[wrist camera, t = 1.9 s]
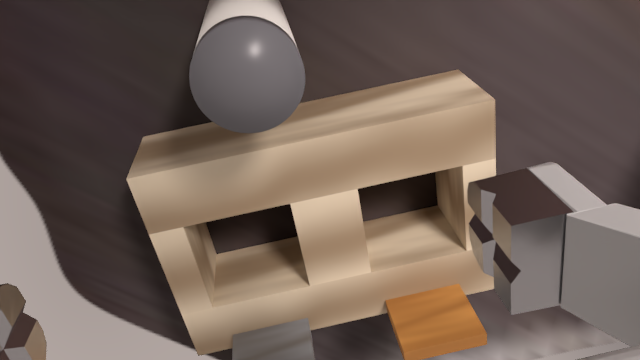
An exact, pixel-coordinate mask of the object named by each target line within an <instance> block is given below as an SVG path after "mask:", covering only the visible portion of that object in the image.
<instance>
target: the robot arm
mask: <svg viewBox="0 0 640 360" xmlns="http://www.w3.org/2000/svg"><path fill="white" fill-rule="evenodd" d="M467 200H468V204H469V206H470V207H471V208H472V210H473V211H474V212H475V214H474V216H473V217H472V219H471V221H470V222H469V236H470V242H471V246H472V250H473V254H474V256H475V258H476V261H477V263H478V265H479V266H480V268H481V269H482V271H483V273H485V274H488V275H490V276H492V277H494V290H495V291H496V293H497V294H498V296H499V297H500V299H501V300H502V302H503V303H504V305H505V306H506V308H507V309H508V311H509V312H510V314H511V315H514V314H519V313H523V312H528V311H533V310H538V309H543V308H548V307H553V306H558V305H561V308H563V309H565V310H566V311H568V312H570V313H572V314H574V315H575V316H577V317H579V318H581V319H582V320H584V321H586V322H588V323H590V324H591V325H593V326H595V327H597V328H598V329H600V330H602V331H604V332H605V333H607V334H609V335H611V336H613V337H614V338H616V339H618V340H620V341H621V342H623V343H625V344H627V345H629V346H630V347H629V348H624V349H620V350H616V351H611V352H607V353H603V354H598V355H595V356H590V357H586V358H582V359H578V360H640V209H636V208H632V207H628V206H625V205H621V204H617V203H615V204H610V205H606V204H605V203H604V202H603V201H601V200H600V199H599V198H598V197H597V196H595V195H594V194H593V193H592V192H591V191H589V190H588V189H587V188H586V187H585V186H583V185H582V184H581V183H580V182H578V181H577V180H576V179H575V178H574V177H572V176H571V175H570V174H569V173H568V172H566V171H565V170H564V169H563V168H562V167H560V166H559V165H558V164H557V163H553V162H548V163H544V164H540V165H536V166H532V167H528V168H525V169H521V170H517V171H513V172H509V173H505V174H501V175H497V176H493V177H489V178H485V179H481V180H477V181H473V182H469V184H468V189H467ZM25 302H26V300H25V299H24V297H23V296H22V294H21V293H20V291H19V290H18V288H17V287H16V286H13V285H10V284H8V283H7V284H2V285H0V360H46V340H45V336H44V333H43V330H42V328H41V326H40V325H39V323H38V321H37V320H36V319H34V318H32V317H30V316H29V315H27V314H25V313H23V309H24V305H25Z"/></svg>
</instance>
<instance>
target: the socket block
mask: <svg viewBox="0 0 640 360" xmlns="http://www.w3.org/2000/svg"><path fill="white" fill-rule="evenodd" d="M432 172H435V175H436V188H437V201H438V205H437V206H433V207H428V208H423V209H419V210H414V211H410V212H405V213H401V214H396V215H392V216H387V217H383V218H378V219H374V220H369V221H365V222H363V219H362V213H361V206H360V200H359V194H358V189H359V188H364V187H368V186H373V185H378V184H382V183H387V182H391V181H396V180H400V179H405V178H409V177H414V176H419V175H423V174H428V173H432ZM493 176H496V141H495V99H494V98H492V97H491V96H490V95H489V94H488V93H486V92H485V91H484V90H483V89H481V88H480V87H479V86H478V85H476V84H475V83H474V82H473V81H472V80H470V79H469V78H468V77H467V76H465V75H464V74H463V73H462V72H460V71H459V70H453V71H449V72H444V73H439V74H435V75H430V76H425V77H421V78H416V79H411V80H407V81H402V82H397V83H393V84H388V85H383V86H379V87H374V88H369V89H365V90H360V91H355V92H350V93H346V94H341V95H336V96H332V97H327V98H322V99H318V100H313V101H308V102H304V103H299V105H298V106H297V108H296V110H295V111H294V112H293V113H292V115H291V116H290V117H289V118H288V119H286V120H285V121H284V122H283V123H281V124H280V125H278V126H276V127H274V128H272V129H270V130H267V131H263V132H258V133H238V132H234V131H230V130H227V129H225V128H223V127H221V126H219V125H217V124H215V123H214V122H210V123H205V124H201V125H196V126H191V127H187V128H182V129H177V130H173V131H168V132H163V133H159V134H154V135H149V136H144V137H143V139H142V141H141V144H140V146H139V149H138V151H137V154H136V156H135V159H134V161H133V164H132V166H131V168H130V171H129V173H128V176H127V178H126V180H127V182H128V185H129V187H130V190H131V192H132V195H133V197H134V199H135V202H136V204H137V207H138V209H139V212H140V214H141V217H142V219H143V221H144V224H145V226H146V229H147V231H148V234H149V236H150V239H151V241H152V243H153V246H154V248H155V251H156V253H157V256H158V258H159V261H160V263H161V265H162V268H163V270H164V273H165V275H166V278H167V280H168V283H169V285H170V288H171V290H172V292H173V295H174V297H175V300H176V302H177V305H178V307H179V310H180V312H181V314H182V317H183V319H184V322H185V324H186V327H187V329H188V332H189V334H190V336H191V339H192V341H193V344H194V346H195V349H196V351H197V354H198V355H204V354H208V353H213V352H217V351H221V350H226V349H230V348H233V351H232V360H315V355H314V349H313V342H312V336H311V330H314V329H318V328H323V327H327V326H332V325H336V324H341V323H345V322H349V321H354V320H358V319H363V318H367V317H371V316H376V315H380V314H385V313H388V315H389V318H390V321H391V324H392V327H393V330H394V332H395V335H396V338H397V341H398V344H399V347H400V350H401V352H402V355H403V358H404V360H421V359H425V358H429V357H434V356H438V355H443V354H447V353H451V352H456V351H460V350H464V349H469V348H473V347H477V346H482V345H486V344H487V333H486V331H485V330H484V328H483V326H482V324H481V322H480V321H479V319H478V317H477V315H476V313H475V312H474V310H473V308H472V306H471V304H470V303H469V301H468V299H467V297H466V295H468V294H473V293H477V292H482V291H486V290H491V289H494V277H492V276H490V275H488V274H485V273H483V271H482V269H481V268H480V266H479V265H478V263H477V261H476V258H475V256H474V254H473V250H472V246H471V242H470V236H469V222H470V221H471V219H472V217H473V216H474V214H475V212H474V211H473V210H472V208H471V207H470V206H469V204H468V200H467V189H468V184H469V182H473V181H477V180H481V179H485V178H489V177H493ZM286 204H290V205H291V209H292V213H293V217H294V221H295V226H296V230H297V234H298V236H297V237H292V238H288V239H283V240H279V241H274V242H270V243H265V244H261V245H256V246H252V247H247V248H243V249H238V250H234V251H229V252H225V253H220V254H216V251H215V248H214V245H213V242H212V239H211V237H210V234H209V231H208V228H207V225H206V222H209V221H213V220H218V219H222V218H227V217H232V216H236V215H241V214H245V213H250V212H254V211H259V210H263V209H268V208H273V207H277V206H282V205H286Z"/></svg>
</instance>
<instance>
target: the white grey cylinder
mask: <svg viewBox="0 0 640 360" xmlns="http://www.w3.org/2000/svg"><path fill="white" fill-rule="evenodd" d="M189 82H190V88H191V92H192V95H193V97H194V100H195V102H196V103H197V105H198V107H199V108H200V110H201V111H202V112H203V113H204V114H205V115H206V116H207V117H208V118H209V119H210V120H211V121H212V122H214V123H215V124H217V125H219V126H221V127H223V128H225V129H227V130H230V131H234V132H238V133H258V132H263V131H267V130H270V129H272V128H274V127H276V126H278V125H280V124H281V123H283V122H284V121H285V120H286V119H288V118H289V117H290V116H291V115H292V113H293V112H294V111H295V110H296V108H297V106H298V105H299V103H300V101H301V98H302V96H303V92H304V87H305V70H304V65H303V62H302V59H301V56H300V53H299V51H298V48H297V45H296V43H295V40H294V37H293V35H292V32H291V29H290V27H289V24H288V21H287V19H286V16H285V13H284V11H283V8H282V5H281V3H280V1H279V0H210V1H209V3H208V6H207V9H206V12H205V16H204V19H203V23H202V26H201V29H200V33H199V36H198V40H197V43H196V47H195V50H194V54H193V57H192V60H191V64H190V70H189Z"/></svg>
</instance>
